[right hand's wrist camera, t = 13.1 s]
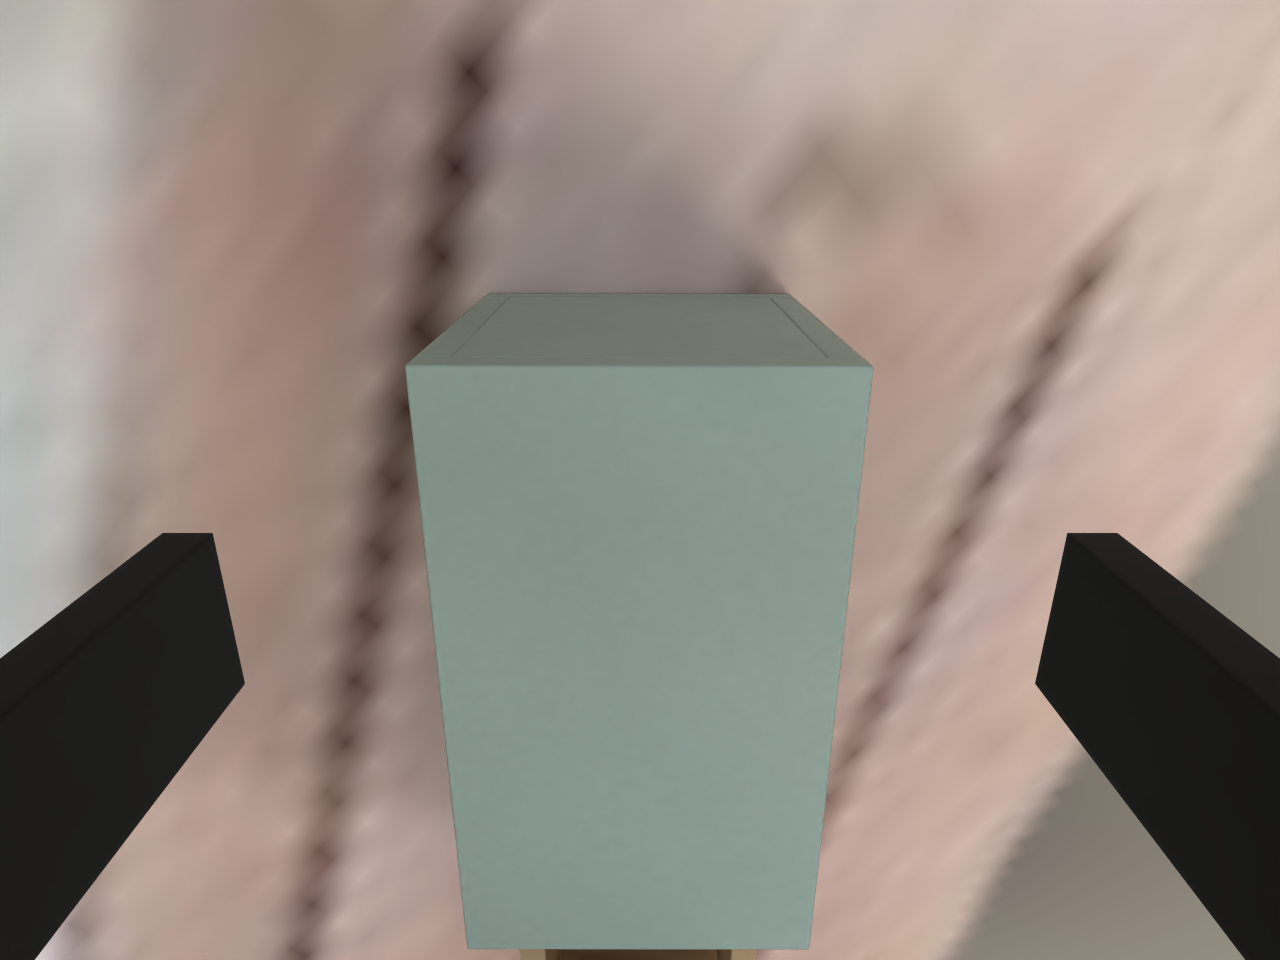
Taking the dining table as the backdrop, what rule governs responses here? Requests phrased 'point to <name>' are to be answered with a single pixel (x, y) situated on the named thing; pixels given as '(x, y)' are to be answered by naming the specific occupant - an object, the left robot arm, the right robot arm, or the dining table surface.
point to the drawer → (638, 954)
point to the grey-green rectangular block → (638, 609)
